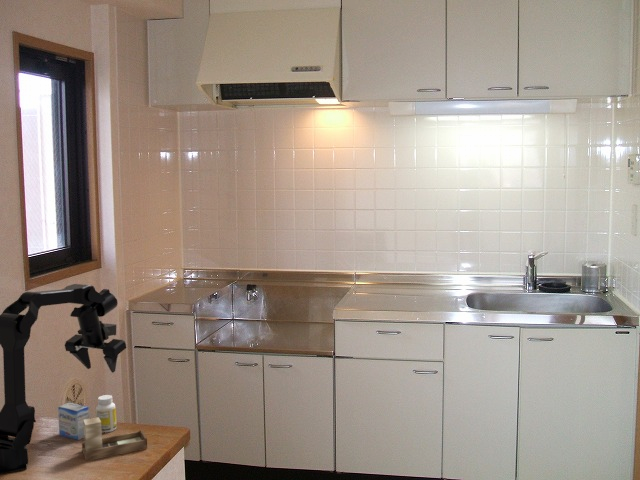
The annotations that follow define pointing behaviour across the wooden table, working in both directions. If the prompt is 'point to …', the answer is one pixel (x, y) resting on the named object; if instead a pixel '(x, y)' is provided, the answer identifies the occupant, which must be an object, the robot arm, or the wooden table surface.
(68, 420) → the medicine box
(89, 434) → the cream block
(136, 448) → the box
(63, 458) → the wooden table surface
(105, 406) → the supplement bottle
